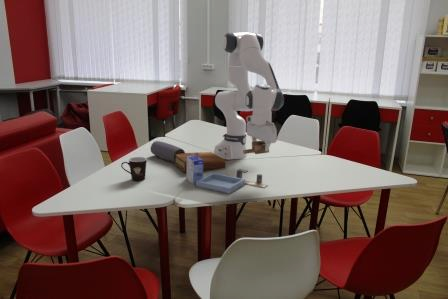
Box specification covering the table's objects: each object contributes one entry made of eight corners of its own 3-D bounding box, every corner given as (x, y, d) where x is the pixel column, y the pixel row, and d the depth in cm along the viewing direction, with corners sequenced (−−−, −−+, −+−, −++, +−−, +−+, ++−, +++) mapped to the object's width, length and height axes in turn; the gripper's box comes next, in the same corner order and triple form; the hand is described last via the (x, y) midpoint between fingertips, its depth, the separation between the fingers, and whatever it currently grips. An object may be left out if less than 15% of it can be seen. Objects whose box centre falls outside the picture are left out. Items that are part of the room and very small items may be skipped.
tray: (196, 186, 180) (196, 181, 179) (213, 178, 192) (213, 172, 192) (229, 194, 171) (229, 188, 170) (244, 184, 183) (245, 179, 183)
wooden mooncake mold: (245, 155, 178) (244, 147, 176) (241, 150, 184) (241, 142, 182) (269, 152, 179) (268, 144, 178) (265, 147, 185) (264, 139, 184)
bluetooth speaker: (186, 164, 216) (186, 147, 214) (172, 166, 210) (173, 148, 207) (162, 155, 232) (163, 139, 230) (149, 157, 225) (149, 140, 223)
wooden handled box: (230, 181, 188) (230, 171, 187) (239, 176, 196) (239, 166, 195) (264, 188, 179) (265, 178, 178) (272, 182, 187) (272, 173, 186)
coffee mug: (150, 177, 192) (149, 158, 190) (141, 182, 184) (140, 162, 182) (130, 174, 196) (129, 155, 193) (120, 179, 188) (119, 160, 186)
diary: (184, 172, 195) (185, 162, 194) (173, 163, 212) (173, 153, 211) (224, 170, 206) (225, 159, 204) (210, 161, 222) (211, 151, 221)
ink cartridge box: (203, 184, 185) (204, 155, 181) (193, 185, 182) (193, 156, 179) (196, 178, 193) (196, 150, 190) (186, 179, 191) (185, 151, 187)
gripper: (280, 123, 171) (279, 152, 174) (255, 115, 188) (254, 143, 191) (269, 124, 168) (268, 154, 171) (244, 116, 185) (243, 144, 188)
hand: (260, 148), depth 181 cm, fingers closed on wooden mooncake mold, 8 cm apart
